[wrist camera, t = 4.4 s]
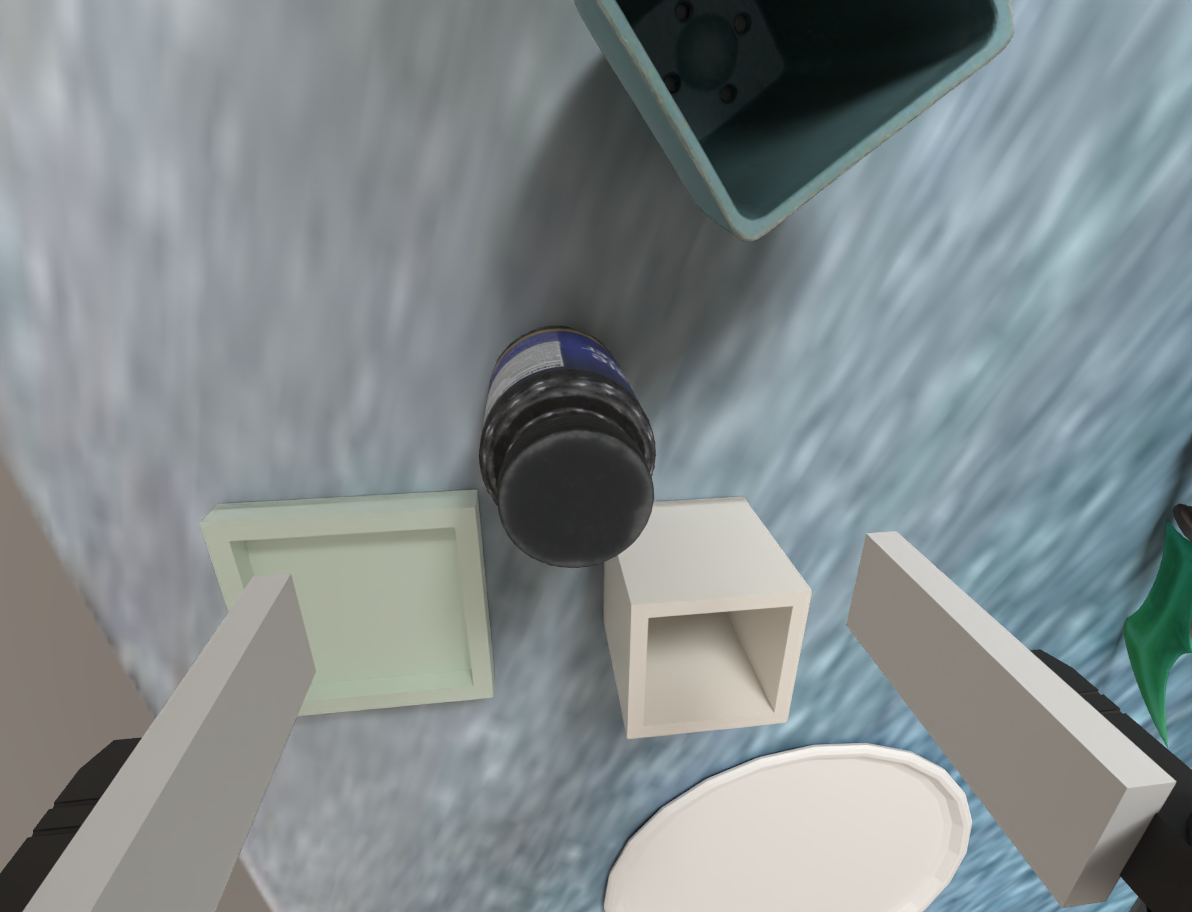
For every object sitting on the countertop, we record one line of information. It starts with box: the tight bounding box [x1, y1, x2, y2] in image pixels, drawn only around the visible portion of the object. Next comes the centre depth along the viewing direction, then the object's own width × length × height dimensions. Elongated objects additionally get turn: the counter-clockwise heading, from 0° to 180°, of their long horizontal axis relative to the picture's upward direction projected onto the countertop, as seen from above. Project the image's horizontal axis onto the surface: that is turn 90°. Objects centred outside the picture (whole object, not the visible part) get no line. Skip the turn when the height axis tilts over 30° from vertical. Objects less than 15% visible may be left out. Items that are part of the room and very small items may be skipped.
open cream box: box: [603, 497, 812, 739], centre depth 28 cm, size 7×7×8 cm
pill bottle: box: [479, 326, 656, 568], centre depth 22 cm, size 6×6×11 cm
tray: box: [199, 489, 495, 716], centre depth 30 cm, size 12×12×2 cm
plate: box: [604, 743, 972, 912], centre depth 46 cm, size 29×29×1 cm
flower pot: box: [574, 0, 1014, 242], centre depth 18 cm, size 9×9×9 cm
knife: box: [1124, 504, 1192, 748], centre depth 35 cm, size 21×2×5 cm, turn 5°
